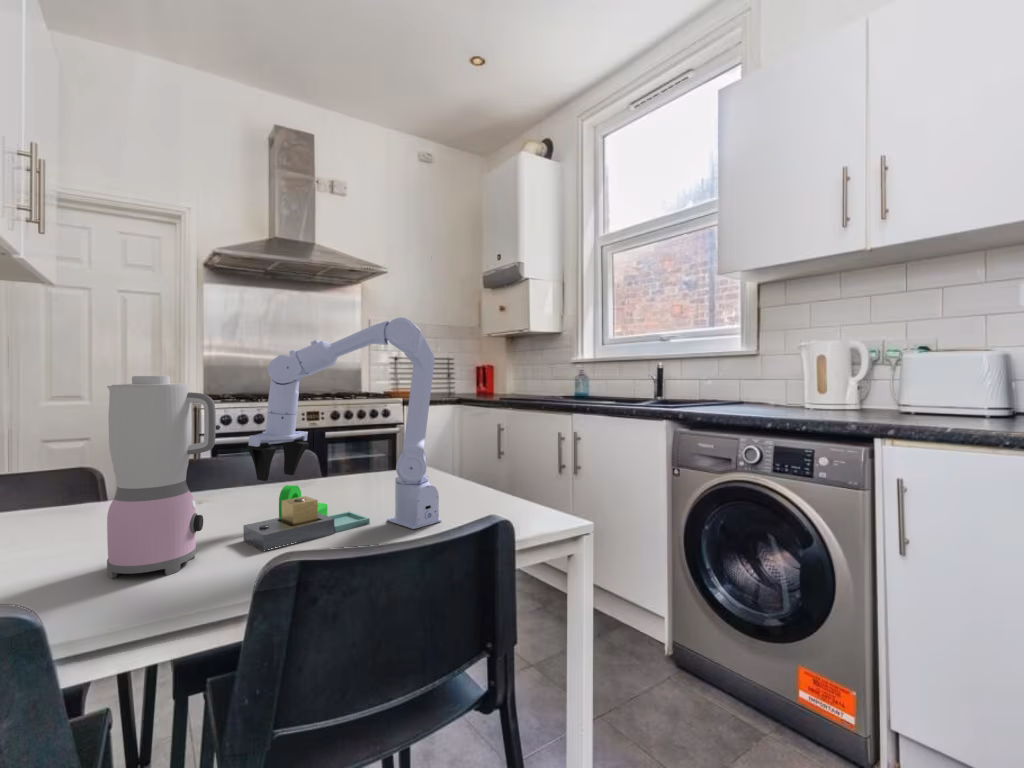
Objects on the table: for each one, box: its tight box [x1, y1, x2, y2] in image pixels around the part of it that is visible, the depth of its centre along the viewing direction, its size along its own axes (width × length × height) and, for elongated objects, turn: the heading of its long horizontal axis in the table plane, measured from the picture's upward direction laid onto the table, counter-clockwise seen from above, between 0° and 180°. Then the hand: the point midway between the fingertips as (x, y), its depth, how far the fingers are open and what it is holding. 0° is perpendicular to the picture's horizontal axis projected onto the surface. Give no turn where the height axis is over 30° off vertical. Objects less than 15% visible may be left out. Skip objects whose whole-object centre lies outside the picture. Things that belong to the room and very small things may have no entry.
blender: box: [106, 375, 217, 579], centre depth 87 cm, size 16×12×32 cm
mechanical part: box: [278, 484, 329, 518], centre depth 114 cm, size 12×6×8 cm, turn 174°
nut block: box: [282, 495, 319, 527], centre depth 103 cm, size 5×5×7 cm
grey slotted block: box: [242, 513, 335, 552], centre depth 102 cm, size 9×14×3 cm, turn 138°
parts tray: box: [327, 511, 371, 533], centre depth 111 cm, size 8×8×1 cm
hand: (276, 477), depth 109 cm, fingers open, 7 cm apart
